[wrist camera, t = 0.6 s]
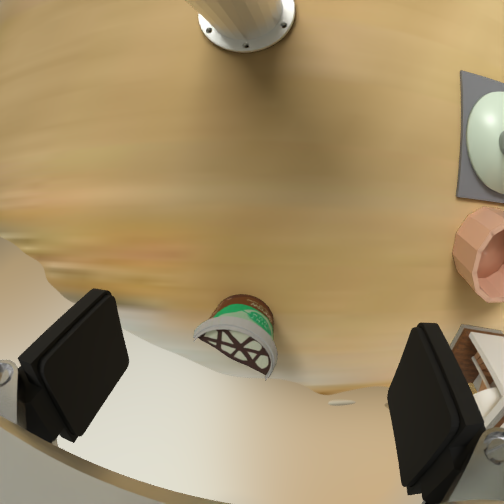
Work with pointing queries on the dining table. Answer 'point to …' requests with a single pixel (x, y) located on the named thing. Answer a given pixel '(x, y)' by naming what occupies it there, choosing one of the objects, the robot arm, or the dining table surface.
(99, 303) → the robot arm
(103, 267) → the dining table surface
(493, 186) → the lid
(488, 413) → the grey two-tier tower
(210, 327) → the food container
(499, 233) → the bowl
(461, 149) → the mat
